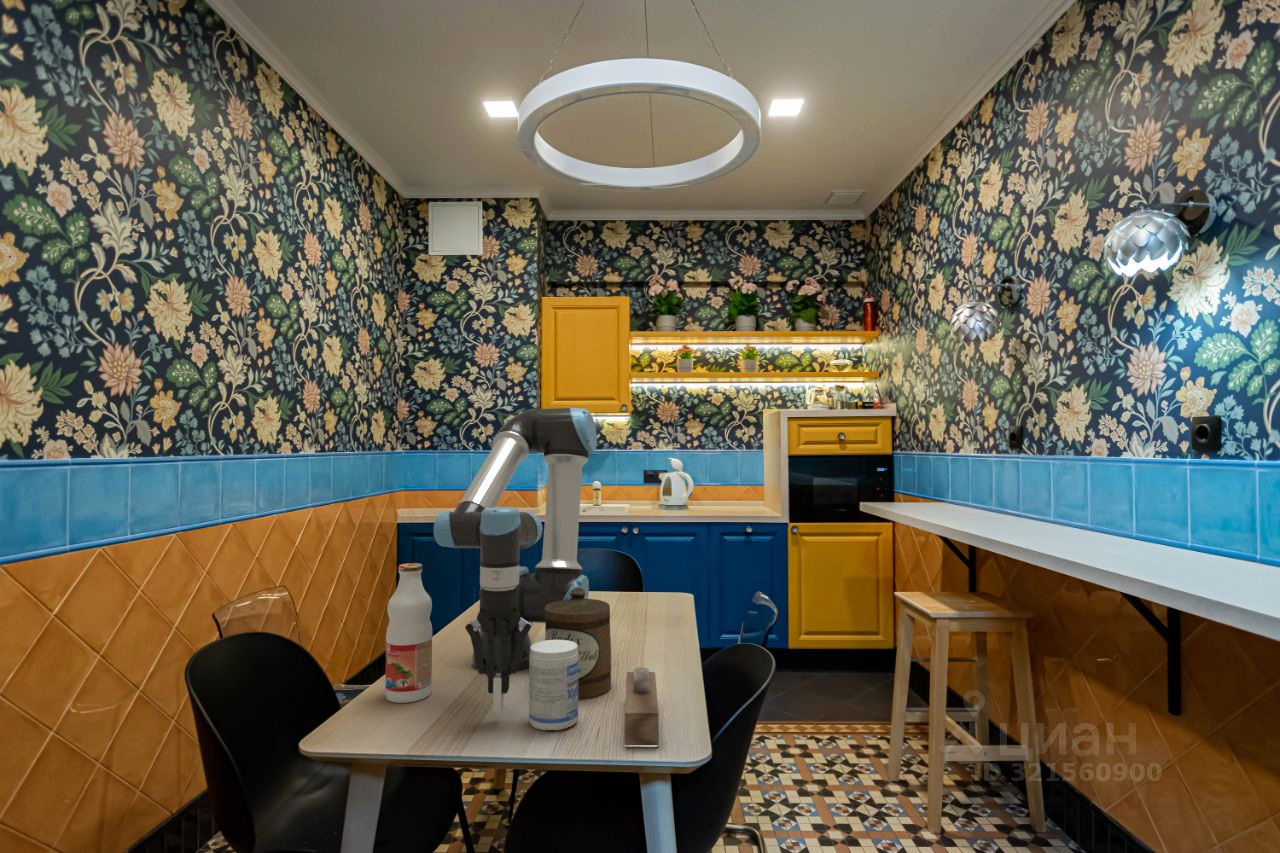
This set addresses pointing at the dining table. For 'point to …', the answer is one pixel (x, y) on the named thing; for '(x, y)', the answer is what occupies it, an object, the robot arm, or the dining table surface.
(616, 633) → the dining table surface
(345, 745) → the dining table surface
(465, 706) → the dining table surface
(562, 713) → the supplement tub
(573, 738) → the dining table surface
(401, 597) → the fruit juice
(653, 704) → the bench stop
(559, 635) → the wooden container
